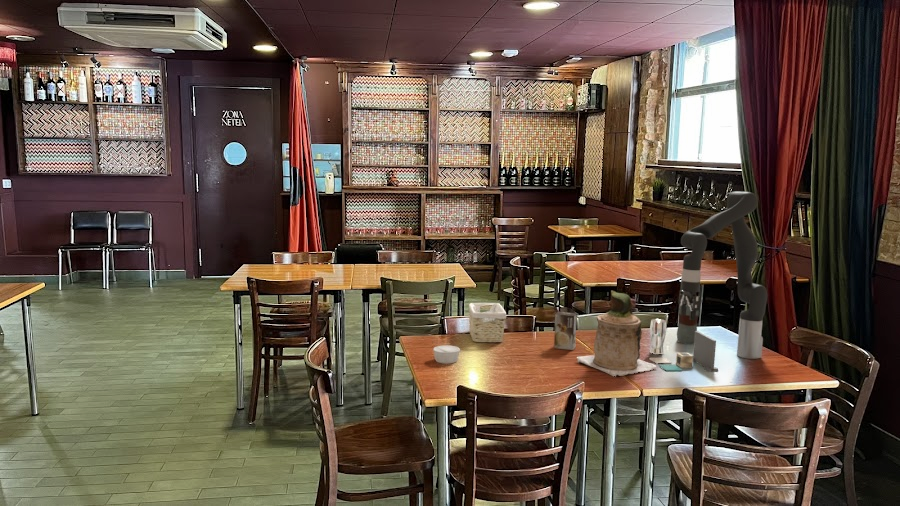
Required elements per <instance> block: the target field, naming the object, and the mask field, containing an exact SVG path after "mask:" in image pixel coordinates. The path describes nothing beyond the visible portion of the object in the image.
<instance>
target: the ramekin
mask: <svg viewBox="0 0 900 506" xmlns="http://www.w3.org/2000/svg"><path fill="white" fill-rule="evenodd" d="M432 352H433V355H434V359H435V361H436V362H437V363H440V364H445V365H446V364H448V365H449V364H450V365H451V364H455V363H457V362H458V360H459V356H460V352H461V349H460V348H459V347H458V346H455V345H450V344H449V345H447V344H446V345H445V344H443V345H438V346H434V347H433V349H432Z"/></svg>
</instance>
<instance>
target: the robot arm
mask: <svg viewBox="0 0 900 506" xmlns="http://www.w3.org/2000/svg"><path fill="white" fill-rule="evenodd" d="M757 206H758V197H757V195H756V194H755V193H753V192H750V191H731V192H730V193H729V194H728V195H727V200H726V207H727V209H726V210H724V211H720V212H719V213H716V214H714V215H712V216H710V217H709V218H708V219H706V220H705V221H703V222H702V223H701V224H700V225H697V226H695V227H692V228H691V229H689V230H686V231H685V232H684V233H683V235H682V236H681V238H680V244H681V247H682V246H683V248H686V249H689V250H692V251H691V253H690V254H686V255H684V256H683V260H682V261H683V263H682V271H681V276H680V277H681V280H680V290H679V295H678V300H677V301H678V302H677V303H678V305H679V304H680V306H681V313H680V315H682V316H685V315H686V308H687V307H686V306H687V304H688V306H689V307H690V320H695V318H696V311H700V308H701V307H700V305H701V296H699V295H697V293H699V292H700V290H701V289H700V288H701V277H702V276H701V273H702V272H701V268H702V260H703V257H704V254H705V251H706V249H707V246H708V240H710V239H712V238H714V237H715V236H716V235H717V234H718V233H719V232H721V231H722V230H724V228H727V227H728V226H729V225H730V226H731V230H732V237H733V247H734V254H735V261H736V270H737V271H736V272H737V273H736V274H737V275H736V276H737V295H738V298H739V300H740V301H741V302H743V303H745V304H749V305H748V309H745V310H741V312H740V314H739V324H738V338H737V348H736V355H737V356H738V357H740V358H743V359H749V360H757V359H762V354H763V353H762V351H763V342H764V338H763V336H762V330H763V319H764V316H765V314H766V308H767V301H768V290H767V288H766V287H765V286H764V285H762V284H758V283H754V282H753V277H752V272H753V269H754V265H755V264H756V261H757V259H758V257H759V252H758V243H757V239H756V237H755V235H754V233H753V232H752V231H751V229H750V227H749V226H748V224H747V223H746V219H745V216H747V215H749V214H751V213H753V212H754V211H755V210H756V208H757ZM692 306H693V308H692ZM696 306H697V307H696Z"/></svg>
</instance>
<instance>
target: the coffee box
mask: <svg viewBox="0 0 900 506" xmlns="http://www.w3.org/2000/svg"><path fill="white" fill-rule="evenodd" d="M577 318H578V317H577V313H576V312H575V313H574V312H567V311H556V313H555V315H554V336H553V337H554V338H553V339H554V340H553V348H554V349H561V350H568V351H569V350H571V351H573V350H574V349H576V342H577V341H576V337H577Z"/></svg>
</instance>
